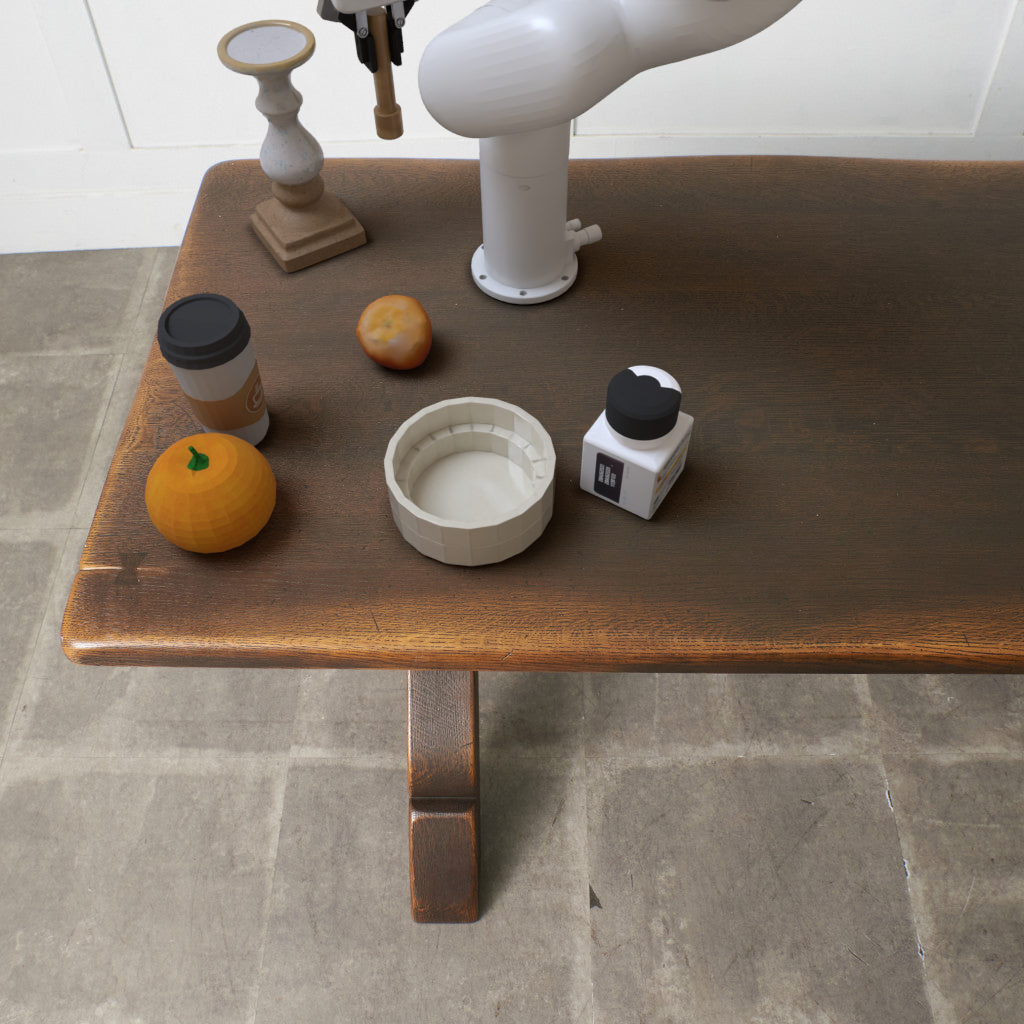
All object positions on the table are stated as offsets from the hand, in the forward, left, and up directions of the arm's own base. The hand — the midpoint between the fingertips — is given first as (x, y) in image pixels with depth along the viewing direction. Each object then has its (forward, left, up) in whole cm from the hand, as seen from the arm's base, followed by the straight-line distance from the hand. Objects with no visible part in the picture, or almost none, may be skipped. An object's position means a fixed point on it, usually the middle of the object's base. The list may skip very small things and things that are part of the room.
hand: (381, 62), depth 103 cm
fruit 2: (+11, +24, -19) cm, 33 cm away
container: (-2, +51, -19) cm, 55 cm away
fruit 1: (+35, +36, -19) cm, 54 cm away
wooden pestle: (0, 0, -8) cm, 8 cm away
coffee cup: (+30, +26, -19) cm, 44 cm away
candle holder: (+12, -1, -19) cm, 23 cm away
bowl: (+13, +46, -19) cm, 52 cm away
